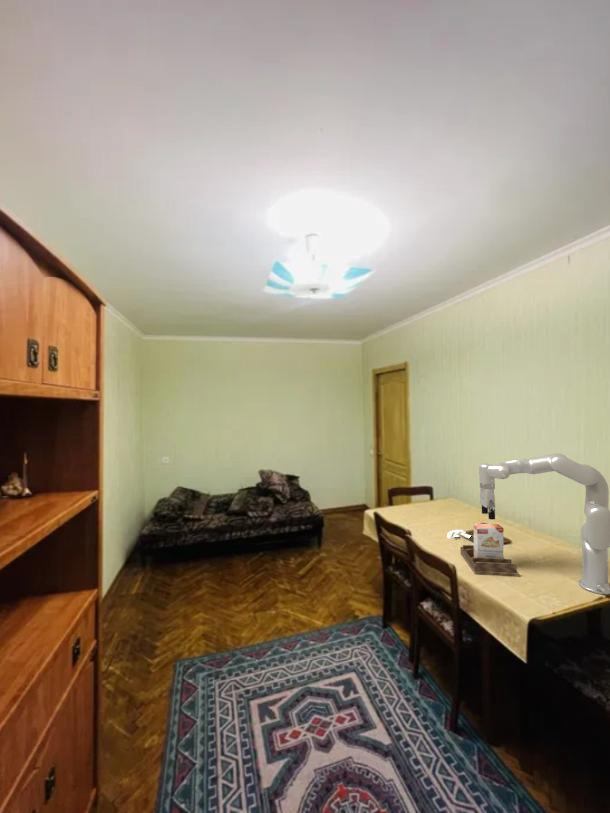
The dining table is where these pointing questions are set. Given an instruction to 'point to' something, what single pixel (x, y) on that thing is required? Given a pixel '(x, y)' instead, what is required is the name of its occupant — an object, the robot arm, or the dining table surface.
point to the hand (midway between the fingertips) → (488, 516)
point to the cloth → (454, 532)
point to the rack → (488, 564)
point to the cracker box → (488, 541)
